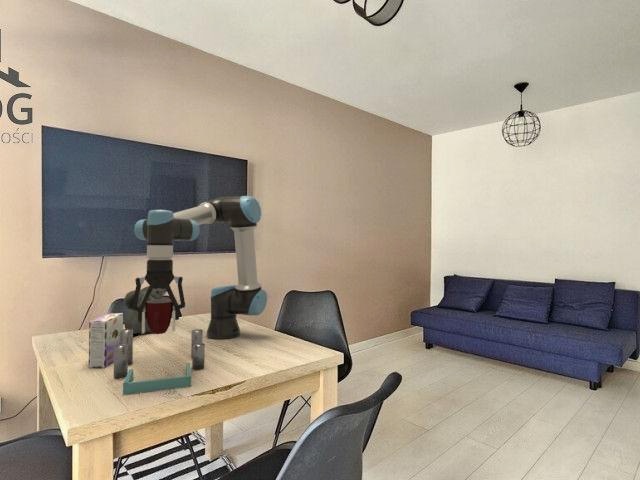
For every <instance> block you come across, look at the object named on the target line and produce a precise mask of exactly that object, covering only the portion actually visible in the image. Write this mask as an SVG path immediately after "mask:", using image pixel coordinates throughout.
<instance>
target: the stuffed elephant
mask: <svg viewBox="0 0 640 480" xmlns="http://www.w3.org/2000/svg"><path fill="white" fill-rule="evenodd" d="M149 286H150V285H147V286H145V287H143V288H141V290H140V295H139V299H138V304H137V306H139V307H140V305H141V303H142V301H143V299H144V297H145V295H146V293H147V291H148V288H149ZM166 293H168V292H167V291H166V288H165V289H161V288H158V289H153V290H152V292H151V294H150V296H149V298H148V300H147V301H150V300H160V299H162V298H163V297H164V296H165V295H166ZM134 294H135V290H131V291H129V292H127V293H126V294H125V296H124V298H123V302H124V305H125V307H126V308H127V309H129V311H128V314H127V315H126V317H125V320H124V323H123V326H124V328H125V329H133V332H134V333H138V334H137V335H141V334H143V333H142V322H138V311H136V310H132V304H133V299H134ZM145 307H146V304H145V306H144V309H143V311H146V310H145ZM145 333H148V334H149V333H150V334H152V332H151V330H150V329H149V327H148V323H147V317H146V324H145Z"/></svg>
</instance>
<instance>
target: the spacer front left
mask: <svg viewBox="0 0 640 480" xmlns="http://www.w3.org/2000/svg"><path fill="white" fill-rule="evenodd" d="M205 346H206V345H205V343H203V342H202V343H197V344H193V345H192V359H191V360H192V361H191V363H192V365H191V366H192V367H191V368H192V369H191V370H195V371H198V370H199V371H200V370H202V369H204V368H205Z"/></svg>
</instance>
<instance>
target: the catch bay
mask: <svg viewBox="0 0 640 480" xmlns="http://www.w3.org/2000/svg"><path fill="white" fill-rule="evenodd" d="M185 364H186V365H185V366H186V369H185V372H186V373H185V374H186V375H181V376H172V377H171V376H170V377H163V378H154V379H153V378H151V379H145V380H144V379H143V380H137V381H133V380H134V368H129V369H128V373H127V376H126V377H124V381H123V383H122V395H123V396H124V395H132V394H133V395H135V394H139V393H140V392H141V393H148V391H149V392H156V391H155V390H157V391H163V389H165V390H172V389H179V387H181V388H186V387H185V386H188V387H192V371H191V370H192V369H191V368H192V367H191V363H190V362H186V363H185ZM141 393H140V394H141Z"/></svg>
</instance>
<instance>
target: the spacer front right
mask: <svg viewBox="0 0 640 480" xmlns="http://www.w3.org/2000/svg"><path fill="white" fill-rule="evenodd" d="M128 367H129V365H128V344H118V345H115V346H114V362H113V379H115V380H116V379H117V380H119V379H125V378H126V376H127V373H128V371H129V369H128Z"/></svg>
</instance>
